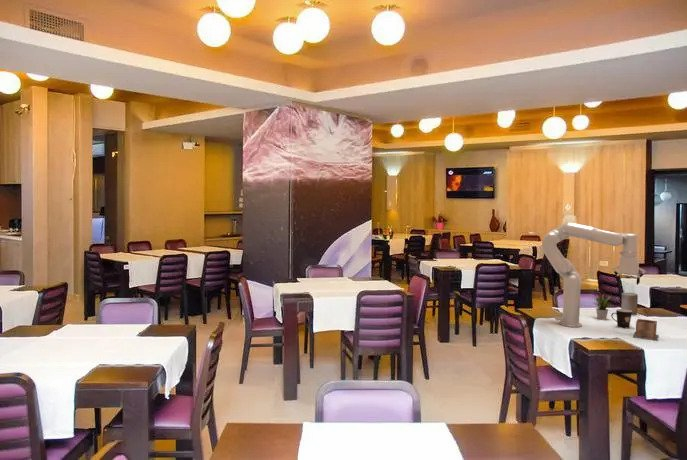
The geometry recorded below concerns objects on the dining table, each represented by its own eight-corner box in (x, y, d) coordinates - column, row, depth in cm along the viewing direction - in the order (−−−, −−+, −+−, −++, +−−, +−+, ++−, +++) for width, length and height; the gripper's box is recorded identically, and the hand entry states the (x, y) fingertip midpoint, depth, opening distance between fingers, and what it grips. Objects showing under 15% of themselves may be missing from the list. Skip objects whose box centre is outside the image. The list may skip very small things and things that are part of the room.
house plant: (588, 319, 353) (589, 294, 352) (587, 315, 366) (588, 291, 365) (612, 322, 348) (613, 296, 347) (611, 317, 361) (612, 292, 360)
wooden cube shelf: (632, 337, 310) (633, 321, 310) (634, 333, 320) (635, 318, 320) (657, 340, 304) (658, 325, 303) (658, 336, 314) (659, 321, 313)
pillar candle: (637, 313, 375) (638, 291, 374) (636, 315, 367) (637, 293, 366) (621, 311, 380) (622, 290, 380) (620, 314, 372) (620, 292, 371)
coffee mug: (629, 325, 338) (630, 309, 338) (632, 329, 330) (633, 312, 330) (609, 324, 342) (609, 308, 341) (610, 327, 334) (611, 310, 333)
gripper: (612, 254, 323) (611, 282, 324) (645, 256, 314) (644, 286, 315) (614, 253, 330) (612, 281, 331) (647, 255, 320) (645, 284, 321)
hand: (628, 283), depth 323 cm, fingers open, 9 cm apart
